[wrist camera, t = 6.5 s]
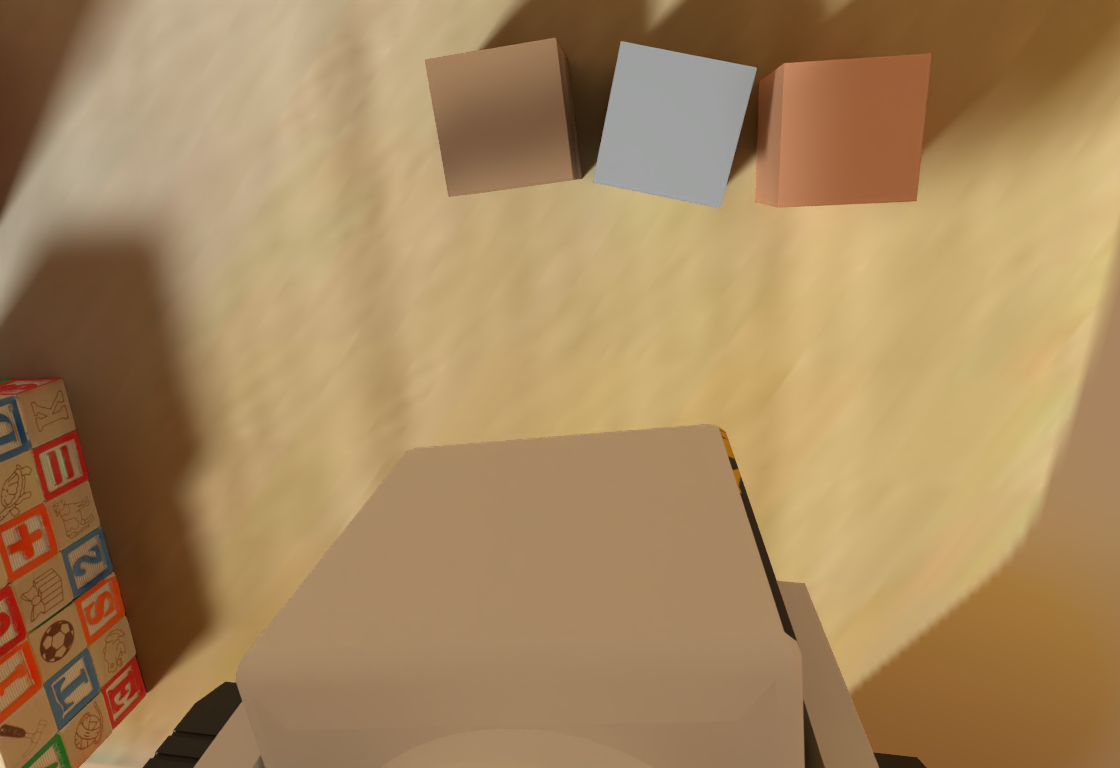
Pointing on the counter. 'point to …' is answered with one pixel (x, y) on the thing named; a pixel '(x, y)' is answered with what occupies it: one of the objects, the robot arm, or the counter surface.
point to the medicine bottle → (539, 617)
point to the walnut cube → (505, 117)
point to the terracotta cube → (842, 131)
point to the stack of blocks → (55, 592)
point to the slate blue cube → (673, 124)
